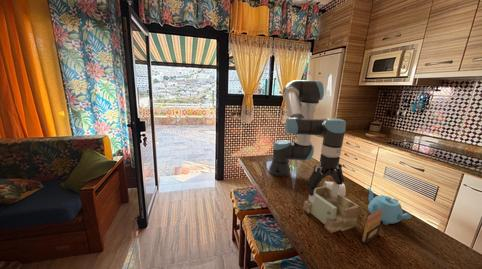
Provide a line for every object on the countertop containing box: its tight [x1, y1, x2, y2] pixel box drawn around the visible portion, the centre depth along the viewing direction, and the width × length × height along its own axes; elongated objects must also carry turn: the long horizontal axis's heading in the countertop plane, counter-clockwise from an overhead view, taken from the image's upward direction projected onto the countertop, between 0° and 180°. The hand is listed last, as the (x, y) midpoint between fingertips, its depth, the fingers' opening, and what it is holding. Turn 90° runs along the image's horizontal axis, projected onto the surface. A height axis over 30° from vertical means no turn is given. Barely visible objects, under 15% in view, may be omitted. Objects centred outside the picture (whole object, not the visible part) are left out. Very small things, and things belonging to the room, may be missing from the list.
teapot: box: [367, 187, 413, 226], centre depth 89 cm, size 15×14×11 cm
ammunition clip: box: [360, 209, 382, 244], centre depth 77 cm, size 11×2×12 cm, turn 121°
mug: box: [322, 180, 347, 198], centre depth 110 cm, size 12×10×8 cm
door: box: [309, 194, 337, 225], centre depth 87 cm, size 14×3×10 cm, turn 23°
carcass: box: [302, 185, 361, 234], centre depth 89 cm, size 19×14×10 cm
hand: (322, 198), depth 86 cm, fingers open, 13 cm apart
